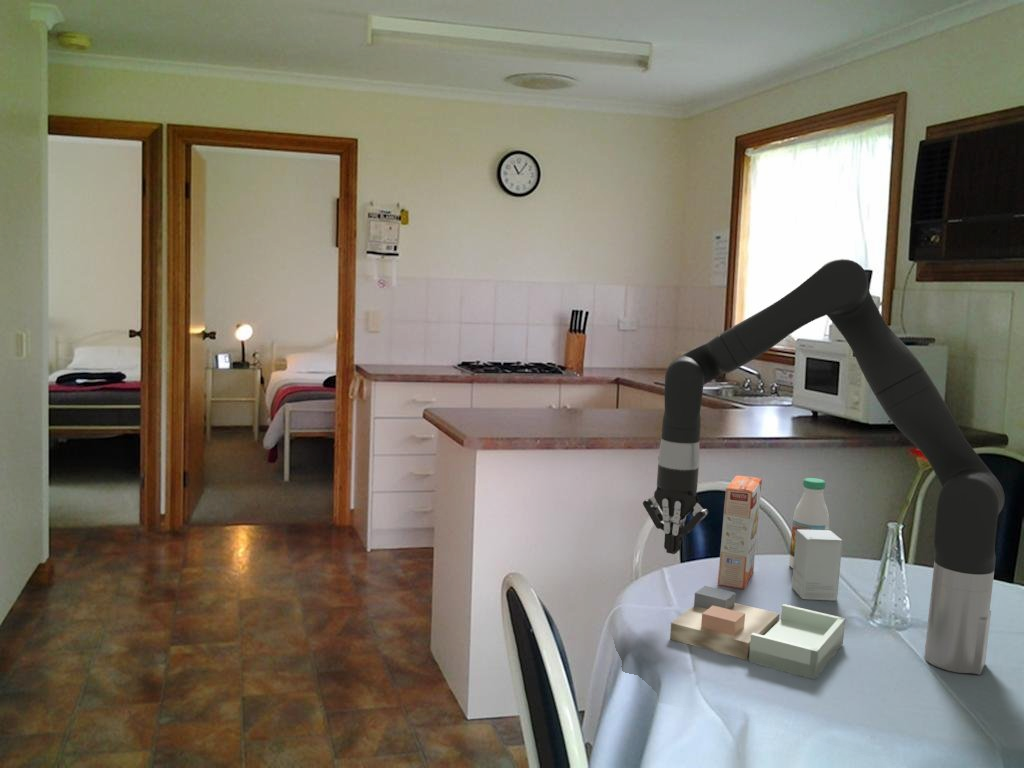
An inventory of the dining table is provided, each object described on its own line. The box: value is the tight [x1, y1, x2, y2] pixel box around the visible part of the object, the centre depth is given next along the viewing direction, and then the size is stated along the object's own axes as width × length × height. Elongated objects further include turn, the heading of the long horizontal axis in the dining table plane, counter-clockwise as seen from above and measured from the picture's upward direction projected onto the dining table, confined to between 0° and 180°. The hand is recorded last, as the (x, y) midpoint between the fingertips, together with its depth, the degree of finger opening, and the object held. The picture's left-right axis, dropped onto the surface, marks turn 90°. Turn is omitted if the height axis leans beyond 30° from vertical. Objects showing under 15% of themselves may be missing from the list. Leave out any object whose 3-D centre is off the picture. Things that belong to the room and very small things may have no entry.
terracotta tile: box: [701, 606, 745, 636], centre depth 168 cm, size 6×5×2 cm
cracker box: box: [717, 474, 763, 590], centre depth 202 cm, size 14×6×21 cm, turn 158°
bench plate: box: [669, 602, 780, 661], centre depth 172 cm, size 14×17×3 cm
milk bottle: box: [788, 477, 830, 569], centre depth 211 cm, size 8×8×20 cm
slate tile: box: [693, 585, 736, 609], centre depth 178 cm, size 6×5×2 cm
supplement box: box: [791, 529, 843, 602], centre depth 195 cm, size 7×7×13 cm
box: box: [748, 603, 846, 681], centre depth 165 cm, size 11×18×5 cm, turn 147°
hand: (671, 552), depth 182 cm, fingers closed
